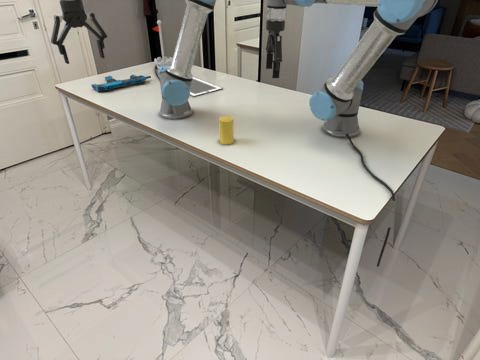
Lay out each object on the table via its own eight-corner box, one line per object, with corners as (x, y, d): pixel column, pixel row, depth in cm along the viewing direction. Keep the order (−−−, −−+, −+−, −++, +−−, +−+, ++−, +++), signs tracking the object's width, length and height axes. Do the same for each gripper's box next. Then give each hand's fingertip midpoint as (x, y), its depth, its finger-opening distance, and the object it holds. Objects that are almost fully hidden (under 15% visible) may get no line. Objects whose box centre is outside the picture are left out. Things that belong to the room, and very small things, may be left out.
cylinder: (233, 144, 139) (233, 121, 133) (219, 144, 139) (218, 121, 133) (233, 138, 144) (233, 116, 138) (220, 138, 144) (219, 116, 138)
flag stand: (171, 63, 246) (167, 18, 230) (175, 68, 236) (170, 21, 220) (153, 65, 242) (147, 19, 226) (156, 70, 232) (150, 22, 216)
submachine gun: (137, 69, 223) (155, 75, 206) (138, 75, 225) (156, 81, 208) (84, 79, 204) (99, 87, 188) (85, 85, 206) (101, 94, 190)
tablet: (164, 83, 207) (164, 82, 207) (191, 76, 218) (191, 76, 218) (193, 96, 187) (193, 95, 187) (222, 88, 198) (222, 88, 198)
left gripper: (35, 2, 112) (54, 67, 124) (108, -3, 125) (119, 56, 137) (29, 0, 117) (48, 63, 128) (100, -4, 130) (112, 53, 142)
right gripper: (260, 14, 145) (258, 65, 157) (273, 25, 124) (269, 82, 136) (278, 14, 146) (274, 64, 158) (293, 25, 125) (287, 82, 137)
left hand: (85, 60), depth 133 cm, fingers open, 13 cm apart
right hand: (272, 73), depth 147 cm, fingers open, 13 cm apart
